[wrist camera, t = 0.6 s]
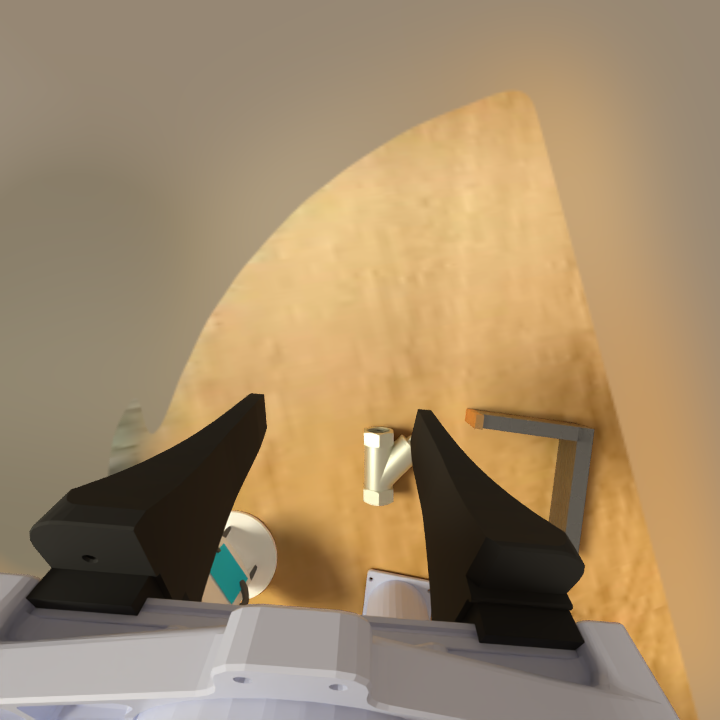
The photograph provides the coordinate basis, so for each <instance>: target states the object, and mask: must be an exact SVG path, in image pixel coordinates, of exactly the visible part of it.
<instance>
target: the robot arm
mask: <svg viewBox="0 0 720 720" xmlns="http://www.w3.org/2000/svg"><path fill="white" fill-rule="evenodd" d="M266 429H267V424H266V412H265V400H264V394H253V393H251V394H249V395H248V396H247V397H245V398H244V399H243V400H241V401H240V402H239V403H238V404H236V405H235V406H234V407H232V408H231V409H230V410H229V411H227V412H226V413H225V414H223V415H222V416H221V417H219V418H218V419H217V420H215V421H214V422H212V423H211V424H209V425H208V426H206V427H205V428H203V429H202V430H200V431H199V432H197V433H196V434H194V435H193V436H191V437H189V438H188V439H186V440H184V441H183V442H181V443H179V444H177V445H176V446H174V447H172V448H170V449H168V450H166V451H164V452H162V453H160V454H158V455H156V456H154V457H152V458H150V459H148V460H146V461H144V462H142V463H139V464H137V465H135V466H133V467H130V468H128V469H125V470H123V471H121V472H118V473H116V474H113V475H111V476H108V477H106V478H103V479H100V480H97V481H94V482H91V483H89V484H86V485H83V486H80V487H78V488H74V489H71V490H70V491H69V492H68V493H67V494H66V495H65V496H64V497H63V498H62V499H61V500H60V501H59V502H57V503H56V504H55V505H54V506H53V507H52V508H51V509H50V510H49V511H48V512H47V513H46V514H45V515H44V516H43V517H42V518H41V519H40V520H39V521H38V522H37V523H36V524H34V525H33V527H32V528H31V530H30V541H31V542H32V544H33V546H34V547H35V548H36V550H37V551H38V552H39V553H40V554H41V556H42V557H43V558H44V559H45V560H46V562H47V563H48V564H49V565H50V566H51V569H50V571H49V572H48V573H47V574H46V575H45V576H44V577H43V579H42V580H41V579H40V578H38V577H35V576H31V575H25V574H12V573H0V720H680V719H679V717H678V716H677V714H676V712H675V711H674V709H673V707H672V706H671V704H670V702H669V701H668V699H667V697H666V696H665V694H664V692H663V691H662V689H661V687H660V686H659V684H658V682H657V681H656V679H655V677H654V676H653V674H652V672H651V671H650V669H649V667H648V666H647V664H646V662H645V661H644V659H643V657H642V656H641V654H640V652H639V651H638V649H637V647H636V646H635V644H634V642H633V641H632V639H631V637H630V636H629V634H628V632H627V631H626V629H625V627H624V626H623V625H622V624H620V623H615V622H603V621H591V620H585V621H579V622H576V623H575V621H574V619H573V617H572V615H571V613H570V611H569V610H572V609H573V605H572V603H571V601H570V599H569V597H568V595H567V592H568V591H569V590H570V589H571V588H572V587H573V586H574V585H575V584H576V583H577V582H578V581H579V580H580V578H581V577H582V575H583V573H584V568H585V565H584V563H583V561H582V559H581V557H580V556H579V554H578V552H577V551H576V549H575V547H574V545H573V544H572V542H571V541H570V539H569V537H568V536H567V535H566V533H565V532H564V531H562V530H561V529H559V528H558V527H556V526H554V525H553V524H551V523H550V522H548V521H547V520H545V519H543V518H542V517H540V516H539V515H537V514H536V513H534V512H533V511H531V510H530V509H529V508H527V507H526V506H524V505H523V504H522V503H520V502H519V501H518V500H516V499H515V498H514V497H512V496H511V495H510V494H508V493H507V492H506V491H505V490H504V489H502V488H501V487H500V486H499V485H498V484H496V483H495V482H494V481H493V480H492V479H491V478H489V477H488V476H487V475H486V474H485V473H484V472H483V471H482V470H481V469H480V468H479V467H478V466H477V465H476V464H475V463H474V462H473V461H472V460H471V459H470V458H469V457H468V456H467V455H466V454H465V453H464V451H463V450H462V449H461V448H460V447H459V446H458V445H457V443H456V442H455V441H454V440H453V438H452V437H451V436H450V435H449V433H448V432H447V431H446V430H445V428H444V427H443V426H442V424H441V423H440V422H439V420H438V419H437V418H436V416H435V415H434V414H433V412H432V411H431V410H422V409H418V411H417V416H416V420H415V424H414V428H413V432H412V436H411V440H410V446H411V458H412V465H413V470H414V475H415V480H416V485H417V489H418V494H419V499H420V503H421V508H422V514H423V522H424V531H425V540H426V550H427V561H428V573H429V580H425V579H420V578H414V577H409V576H404V575H399V574H394V573H389V572H384V571H379V570H374V569H370V570H369V571H368V574H367V582H366V591H365V599H364V607H363V615H358V614H356V613H352V612H347V611H342V610H332V609H320V608H308V607H295V606H283V605H270V604H247V605H232V604H219V603H207V602H201V600H202V597H203V594H204V590H205V587H206V584H207V581H208V577H209V574H210V571H211V568H212V565H213V562H214V559H215V556H216V553H217V550H218V547H219V544H220V541H221V538H222V535H223V532H224V529H225V527H226V524H227V521H228V518H229V516H230V513H231V510H232V507H233V505H234V502H235V500H236V497H237V495H238V493H239V491H240V489H241V487H242V484H243V482H244V480H245V478H246V476H247V474H248V472H249V470H250V468H251V466H252V464H253V462H254V460H255V458H256V456H257V454H258V452H259V449H260V447H261V444H262V441H263V439H264V435H265V432H266ZM370 577H372V578H373V579H370ZM428 589H430V591H428ZM431 617H432V621H431V620H430V619H431Z"/></svg>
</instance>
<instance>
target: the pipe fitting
mask: <svg viewBox="0 0 720 720" xmlns="http://www.w3.org/2000/svg"><path fill="white" fill-rule="evenodd" d="M411 436H412V435H409V436H408V437H407V438H406V437H405V436H404V435H401V436H400V437H399V438H398V439H397V440H396V441H395V442H394V432H393V429H391V428H387V427H368V428H365V429H364V501H365V502H366V503H368V504H371V505H376V506H383V505H387V504H390V503H392V502H393V484H394V483H395V482H396V481H397V480H398V479H399V478H400V477H401V476H402V475H403V474H404V473H405V472H406V471H407V470H408V469H409V468H410V467H411V466H413V465H412V458H411V446H410V440H411Z"/></svg>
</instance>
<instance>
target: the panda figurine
mask: <svg viewBox="0 0 720 720" xmlns="http://www.w3.org/2000/svg"><path fill="white" fill-rule="evenodd" d="M276 566H277V549H276V545H275V541H274V539H273V537H272V535H271V533H270V531H269V530H268V529H267V527H266V526H265V525H264V524H263V523H262V522H261V521H260V520H258V519H257V518H256V517H254V516H252V515H250V514H248V513H245V512H242V511H231V513H230V516H229V518H228V521H227V524H226V527H225V529H224V532H223V535H222V538H221V541H220V544H219V547H218V550H217V553H216V556H215V559H214V562H213V565H212V568H211V571H210V574H209V577H208V581H207V584H206V587H205V590H204V594H203V597H202V600H201V602H207V603H219V604H232V605H247V604H248V602H249V599H250V598H252V597H255V596H256V595H258V594H259V593H261V592H262V591H263V590H264V589H265V588H266V587H267V586H268V584H269V583H270V581H271V579H272V578H273V575H274V573H275V570H276ZM241 600H242V602H241ZM240 602H241V603H240Z"/></svg>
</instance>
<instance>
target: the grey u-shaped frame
mask: <svg viewBox="0 0 720 720" xmlns="http://www.w3.org/2000/svg"><path fill="white" fill-rule="evenodd" d="M465 421H466V422H467V423H468V424H470V425H471V426H472V427H474V428H475V429H482V430H483V428H485V429H493V430H500V431H507V432H514V433H521V434H528V435H535V436H543V437H550V438H557V439H559V447H558V454H557V462H556V470H555V478H554V486H553V494H552V501H551V509H550V517H549V522H550V523H551V524H553V525H554V526H556V527H558V528H559V529H561V530H562V531H564V532H565V533H566V535H567V536H568V537H569V539H570V541H571V542H572V544H573V545H574V547H575V549H576V551H577V552H578V553H579V545H580V537H581V529H582V521H583V514H584V506H585V498H586V490H587V483H588V475H589V467H590V459H591V451H592V444H593V436H594V429H592V428H589V427H586V426H583V425H580V424H577V423H572V422H564V421H557V420H549V419H542V418H534V417H527V416H520V415H512V414H505V413H497V412H490V411H482V410H475V409H467V410H466V418H465Z"/></svg>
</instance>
